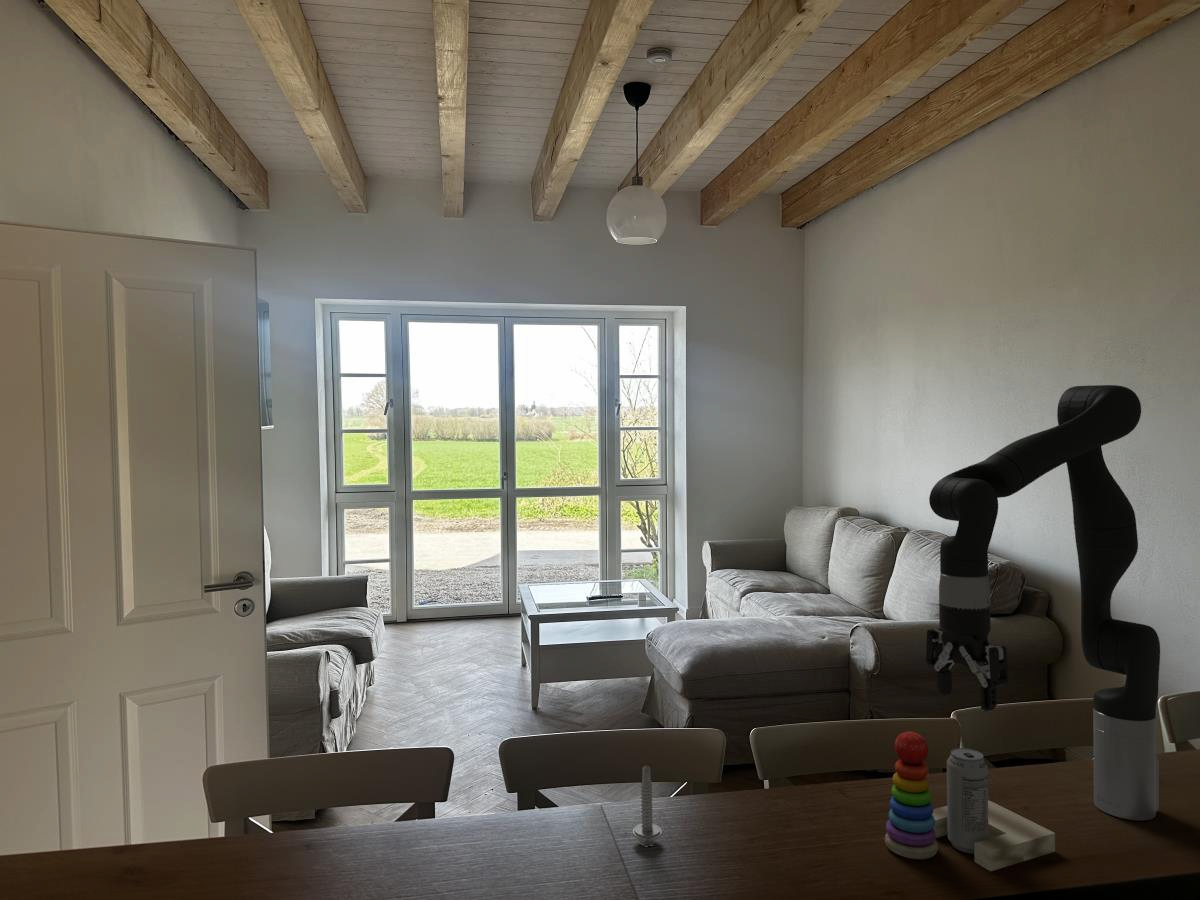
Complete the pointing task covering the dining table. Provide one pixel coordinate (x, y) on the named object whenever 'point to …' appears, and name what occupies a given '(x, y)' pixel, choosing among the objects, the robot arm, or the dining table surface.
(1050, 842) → the notched board
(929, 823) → the stacking toy
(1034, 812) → the dining table surface
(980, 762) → the energy drink can
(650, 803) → the screw
